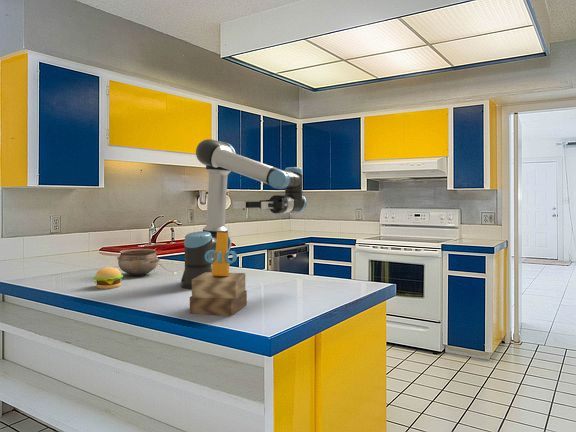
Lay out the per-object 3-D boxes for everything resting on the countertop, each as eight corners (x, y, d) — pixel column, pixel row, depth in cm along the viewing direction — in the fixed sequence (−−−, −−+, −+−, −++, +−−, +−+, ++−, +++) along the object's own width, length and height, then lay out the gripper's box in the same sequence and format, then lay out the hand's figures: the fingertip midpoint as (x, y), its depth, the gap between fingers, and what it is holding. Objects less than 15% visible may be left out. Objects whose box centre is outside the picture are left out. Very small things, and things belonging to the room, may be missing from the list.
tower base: (189, 314, 154) (189, 297, 154) (208, 304, 169) (208, 288, 168) (231, 317, 151) (231, 299, 150) (246, 306, 165) (246, 290, 165)
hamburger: (128, 285, 204) (128, 265, 204) (111, 290, 193) (111, 270, 192) (105, 283, 207) (105, 264, 207) (87, 288, 196) (87, 268, 196)
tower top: (191, 297, 153) (191, 279, 153) (205, 288, 168) (205, 272, 168) (235, 298, 151) (235, 280, 151) (245, 289, 166) (245, 273, 166)
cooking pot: (170, 273, 234) (170, 249, 233) (147, 280, 216) (146, 254, 215) (130, 270, 242) (130, 247, 242) (104, 276, 225) (104, 252, 224)
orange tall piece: (207, 273, 165) (210, 231, 166) (236, 274, 165) (239, 233, 166) (201, 276, 153) (204, 231, 154) (233, 278, 153) (235, 233, 154)
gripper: (306, 213, 183) (274, 215, 165) (257, 212, 197) (223, 214, 180) (305, 195, 182) (274, 195, 165) (257, 195, 197) (223, 195, 179)
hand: (247, 205), depth 172 cm, fingers open, 13 cm apart
